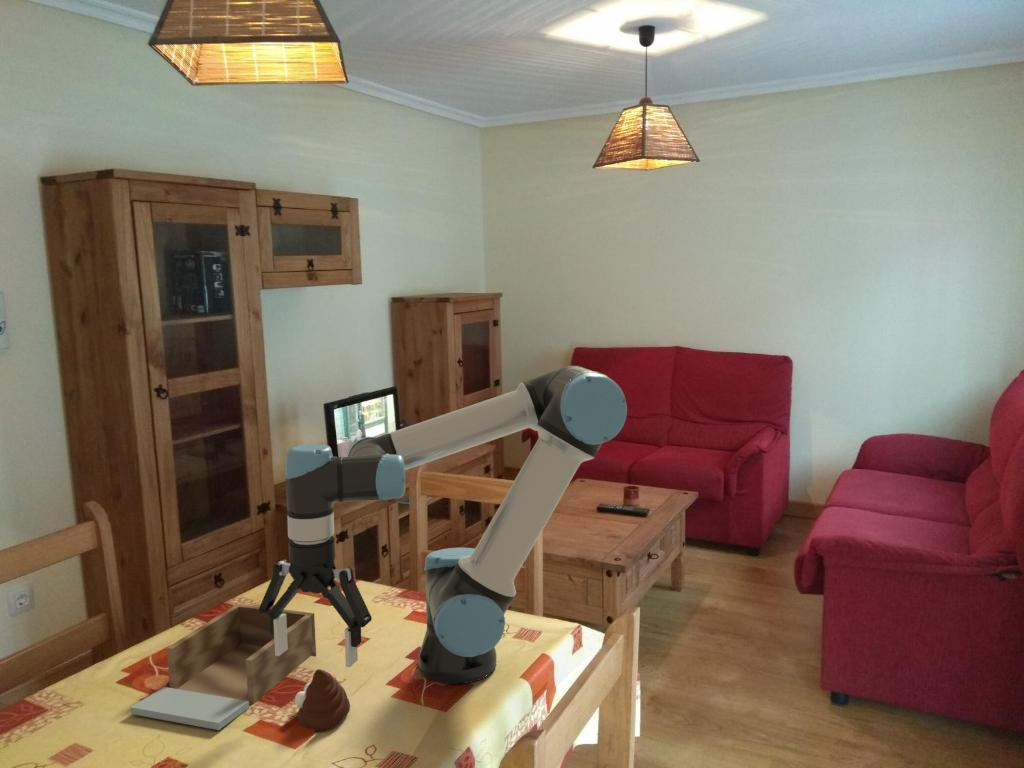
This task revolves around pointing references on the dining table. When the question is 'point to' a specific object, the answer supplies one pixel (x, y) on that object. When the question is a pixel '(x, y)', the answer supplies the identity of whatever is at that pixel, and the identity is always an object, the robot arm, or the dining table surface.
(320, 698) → the poop emoji
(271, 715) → the dining table surface
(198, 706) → the door
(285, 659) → the box
